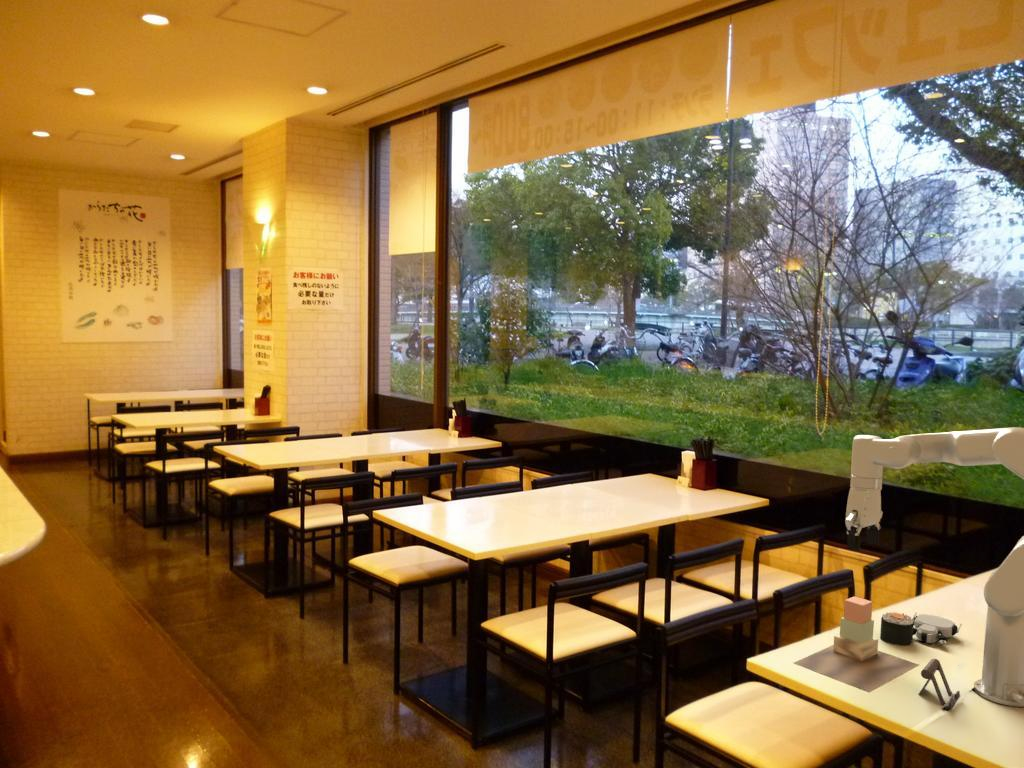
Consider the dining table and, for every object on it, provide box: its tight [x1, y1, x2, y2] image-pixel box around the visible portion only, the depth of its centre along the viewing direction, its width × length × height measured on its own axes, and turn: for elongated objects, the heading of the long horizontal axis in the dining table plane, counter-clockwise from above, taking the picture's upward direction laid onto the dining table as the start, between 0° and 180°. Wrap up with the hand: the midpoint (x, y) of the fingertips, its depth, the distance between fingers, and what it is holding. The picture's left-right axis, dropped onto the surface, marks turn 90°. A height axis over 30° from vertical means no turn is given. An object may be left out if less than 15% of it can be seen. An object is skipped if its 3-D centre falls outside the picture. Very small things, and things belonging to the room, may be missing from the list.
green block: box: [839, 616, 875, 644], centre depth 214 cm, size 6×6×5 cm
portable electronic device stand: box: [918, 658, 961, 712], centre depth 190 cm, size 9×8×8 cm
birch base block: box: [833, 633, 879, 661], centre depth 214 cm, size 8×8×4 cm
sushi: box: [879, 611, 914, 647], centre depth 223 cm, size 8×8×8 cm
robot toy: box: [912, 612, 963, 645], centre depth 229 cm, size 12×4×15 cm
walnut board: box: [793, 644, 920, 693], centre depth 207 cm, size 20×26×1 cm
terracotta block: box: [843, 596, 873, 624], centre depth 214 cm, size 5×5×5 cm
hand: (862, 546), depth 212 cm, fingers open, 9 cm apart
